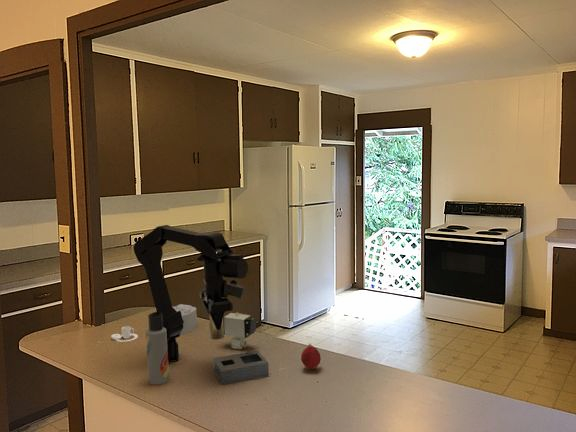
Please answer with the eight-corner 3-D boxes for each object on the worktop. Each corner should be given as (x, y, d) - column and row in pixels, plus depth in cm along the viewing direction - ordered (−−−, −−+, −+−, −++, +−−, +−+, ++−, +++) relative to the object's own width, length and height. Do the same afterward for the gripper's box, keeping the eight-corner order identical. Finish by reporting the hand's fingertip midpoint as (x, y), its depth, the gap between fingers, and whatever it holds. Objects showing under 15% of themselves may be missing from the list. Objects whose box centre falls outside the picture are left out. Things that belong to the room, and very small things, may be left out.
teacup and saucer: (108, 342, 174) (107, 330, 174) (120, 334, 182) (119, 323, 182) (130, 343, 172) (129, 332, 172) (142, 335, 180) (141, 324, 180)
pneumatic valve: (250, 352, 161) (249, 316, 159) (220, 347, 166) (218, 313, 164) (258, 346, 166) (257, 311, 164) (228, 341, 171) (227, 308, 169)
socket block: (221, 384, 138) (220, 371, 138) (213, 370, 148) (213, 358, 147) (268, 375, 143) (268, 362, 143) (258, 362, 153) (257, 350, 152)
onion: (323, 367, 148) (323, 341, 147) (316, 375, 143) (316, 348, 142) (305, 364, 151) (305, 339, 150) (298, 371, 146) (297, 345, 145)
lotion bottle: (172, 377, 144) (169, 311, 141) (161, 386, 138) (157, 317, 136) (156, 375, 146) (152, 309, 143) (144, 383, 140) (140, 315, 138)
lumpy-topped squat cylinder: (200, 325, 188) (199, 303, 187) (180, 337, 176) (179, 314, 175) (178, 322, 192) (176, 301, 191) (157, 334, 180) (155, 311, 179)
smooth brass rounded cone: (212, 340, 144) (210, 310, 143) (209, 336, 148) (207, 306, 147) (225, 338, 146) (223, 308, 145) (222, 333, 149) (220, 305, 148)
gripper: (249, 279, 139) (251, 332, 140) (233, 266, 156) (235, 314, 158) (210, 284, 135) (213, 339, 137) (197, 270, 152) (200, 319, 154)
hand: (216, 327), depth 146 cm, fingers closed on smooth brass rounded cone, 4 cm apart
